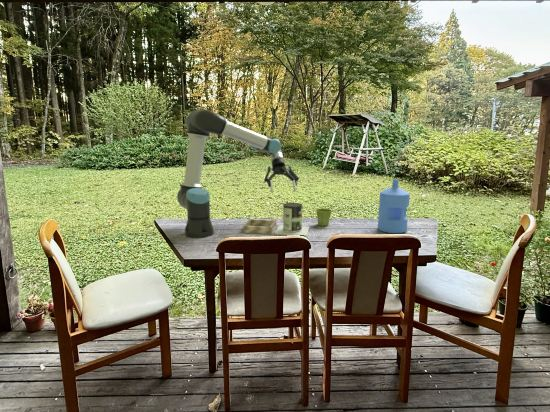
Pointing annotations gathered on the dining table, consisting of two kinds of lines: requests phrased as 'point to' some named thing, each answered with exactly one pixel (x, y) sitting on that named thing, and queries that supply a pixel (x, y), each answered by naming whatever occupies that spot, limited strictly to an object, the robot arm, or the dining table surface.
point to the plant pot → (323, 216)
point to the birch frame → (259, 226)
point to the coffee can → (292, 217)
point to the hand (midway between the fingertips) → (284, 190)
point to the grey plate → (282, 232)
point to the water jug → (393, 209)
